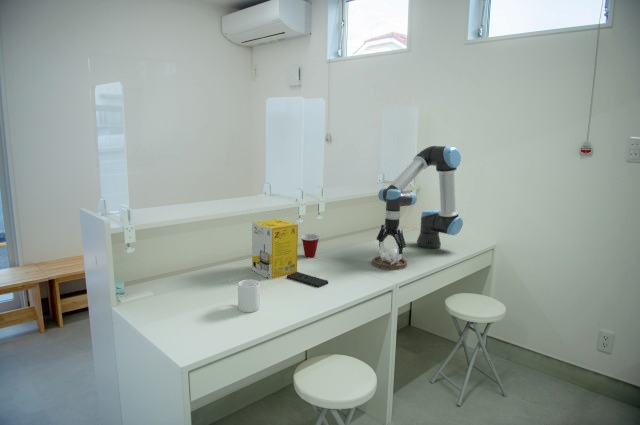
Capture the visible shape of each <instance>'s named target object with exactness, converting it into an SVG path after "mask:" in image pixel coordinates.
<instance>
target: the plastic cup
mask: <svg viewBox="0 0 640 425" xmlns="http://www.w3.org/2000/svg"><path fill="white" fill-rule="evenodd" d="M300 238H301V241H302V242H301V243H302V247H303V254H304V257H305V256H306V257H305V258H308V257H309V259H311V258H315V257H316V253H317V248H318V244H319V239H320V235H318V234H316V233H307V234H303V235H300ZM310 257H311V258H310Z"/></svg>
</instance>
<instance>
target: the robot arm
mask: <svg viewBox="0 0 640 425" xmlns="http://www.w3.org/2000/svg"><path fill="white" fill-rule="evenodd" d="M461 159H462V157H461V153H460V150H459V149H458V148H457V147H454V146H446V145H445V146H444V145H441V146H439V145H431V146H427V147H426V148H423V150H420V152H418V153H417V154H416V155H414V157H413V159H412V160H413V161H412V162H410V164H409V165H408V166H407V167H406V168H405V169H404V170H402V172H401V173H400V174H399V175H398V176H397V177H396V178H395V179H394V180H393V182H392V183H390V184H389V186H388V187H386V188H381V189H379V191H378V195H377V196H378V199H379V200H380V202H385V215H384V216H385V218H384V224H382V225H381V227H380V230H379V233H378V234H377V236H376V241H378V247H379V252H378V253H379V254H380V255H381V254H382V253H385V240H386V239H387V237H388V236H391V237H392V238H394V240H395V242H396V245H397V248H396V249H397V260H400V259H401V258H402V254H403V252H404V248H407V245H406V241H405V237H404V233H403V229H402V228H399V226H400V216H401V214H400V213H401V207H410V206H413V205H415V204H416V203H417V195H416V193H415V192H413V191H404V190H405V189H406V188H407V187H408V186H409V185H410V183H411V182H413V181H414V179H416V177H417V176H418V175H419V174H420V173H421V172H422V171H424V170H426V169H427V168H428V167H430V166H433V167H435V171H436V172H437V173H438V180H439V182H438V184H439V198H440V200H439V201H440V209H427V210H423V211H422V212H421V216H420V228H419V229H420V232H419V235H418V237H417V240H416V246H417V247H420V248H424V249H440V248H441V246H442V243H441V238H440V234H445V235H448V236H456V235H458V234H459V233H460V232H461V230H462V228H463V224H464V221H463V218H462V217H461V216H459V212H458V211H457V209H456V188H455V186H456V185H455V183H456V182H455V171H457V168H458V167H459V166H460V163H461V161H462V160H461Z"/></svg>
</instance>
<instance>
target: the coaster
mask: <svg viewBox="0 0 640 425" xmlns="http://www.w3.org/2000/svg"><path fill="white" fill-rule="evenodd" d="M392 262H394V261H393V260H391V262H389V261H387V260H385V261H383V260H382V259H381V255H379V256H374V257H373V258H372V260H371V263H372V265H373V266H374V267H377V268H379V269H381V270H382V269H384V270H389V271H390V270H391V271H393V270H396V271H399V270H403V269H406V268H407V267H408V261H407V260H406V259H404V258H403V257H401V259H400V260H399V262H398V263H395V264H394V265H390V264H391V263H392Z"/></svg>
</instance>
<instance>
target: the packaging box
mask: <svg viewBox="0 0 640 425" xmlns="http://www.w3.org/2000/svg"><path fill="white" fill-rule="evenodd" d="M298 227H299V225H298V223H294V222H292V221H287V220H285V219H284V220H283V219H280V218H277V219H270V220H269V219H268V220H262V221H255V222H254V221H253V222H251V243H252V244H251V250H252V253H251V256H252V257H251V259H252V260H251V261H252V262H251V270H253V272H254V271H255V272H254V273H257V274H259V275H261V276H262V277H266V278H267V277H268V278H267V279H269V278H270V280H273V279H276V278H280V277H284V276H287V275H290V274H292V273H295V272H298V245H299V244H298V239H299V238H298V234H299V232H298V230H299V228H298Z"/></svg>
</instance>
